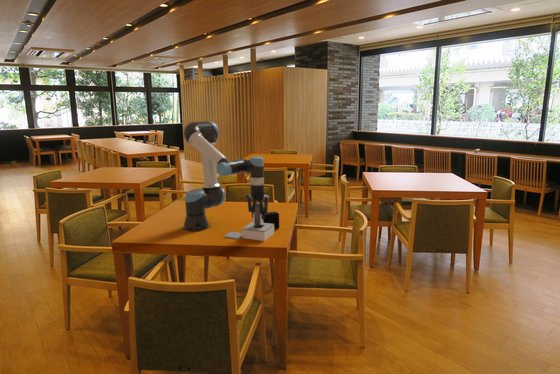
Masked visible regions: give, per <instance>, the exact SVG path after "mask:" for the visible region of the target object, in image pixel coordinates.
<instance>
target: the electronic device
mask: <svg viewBox="0 0 560 374" xmlns="http://www.w3.org/2000/svg"><path fill="white" fill-rule="evenodd" d="M264 216H265V218H264V219H263V223H270V224H274V230H278V229H280V213H279V212H278V211H269V212H266V213H265V214H264Z"/></svg>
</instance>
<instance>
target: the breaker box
mask: <svg viewBox="0 0 560 374" xmlns="http://www.w3.org/2000/svg"><path fill="white" fill-rule="evenodd" d="M241 233H242V237H241V238H242V239H244V240H245V239H248V240H252V241H253V240H254V241H262V242H263V241H264V242H265V241H267V240H268V239H270V237H272V236H273V235H274V234H275V229H274V224H270V223H263V224H262V228H255V224H253V221H251V222H250V223H248V224H247V225H245V226H244V227H242V228H241Z"/></svg>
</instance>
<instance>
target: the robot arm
mask: <svg viewBox="0 0 560 374" xmlns="http://www.w3.org/2000/svg"><path fill="white" fill-rule="evenodd" d="M219 136H220V130H219V127H218V125H217V124H216V123H215V122H213V121H205V120H204V121H194V122H193V121H192V122H189V123H188V124H186V125H185V127H184V129H183V138H184V140H185V141H186V143H187V144H189V145H190V146H192V147H194V148H195V149H196V150H198V151H199V153H200V154H201V155H200V156H201V164H202V165H201V166H202V174H203V175H202V176H203V185H202V186H201V188H196V189H195V188H194V189H189V190H188V191H186V192H185V194H184V203H185V219H184V223H183V229H184V230H186V231H190V232H196V231H198V232H199V231H203V230H206V229H208V228H209V227H210V226H209V224H210V222H209V221H208V218H207V216H206V209H210V208H213V207H216V208H217V207H218V206H221V205H222V204H223V203H224V202H225V200H226V191H225V190H224V188H223V187H221V184H220V183H219V181H218V175H219V176H220V177H228V176H232V175H237V174H242V173H246V174H247V173H248V174H250V193H248V194H246V199H247V208H248V209H247V210H248V212H250V213H251V218H252V219H253V221H252V222H253V224H255V203H259V204H260V210H261V214H260V225H262V224H263V219H264V218H265V216H264V214H265V213H267V212H268V210H269V209H268V208H269V199H270V196H269V195H267V194H266V193H265V185H264V184H265V173H264V170H265V168H264V167H265V164H264V163H265V162H264V161H265V160H264V158H263V156H251V157H250V159H248V158H247V159H246V158H237V159H236V160H229V159H228V158H227V157H226V156H225V155H224V154H223V153H221V152H220V151H219V150H218V149H217V148H216V147H215V145H216V144H217V139H219Z"/></svg>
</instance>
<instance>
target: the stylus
mask: <svg viewBox="0 0 560 374" xmlns="http://www.w3.org/2000/svg"><path fill="white" fill-rule="evenodd" d="M260 214H261V210H260V204H259V202H256V203H255V228H262V225H260Z"/></svg>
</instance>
